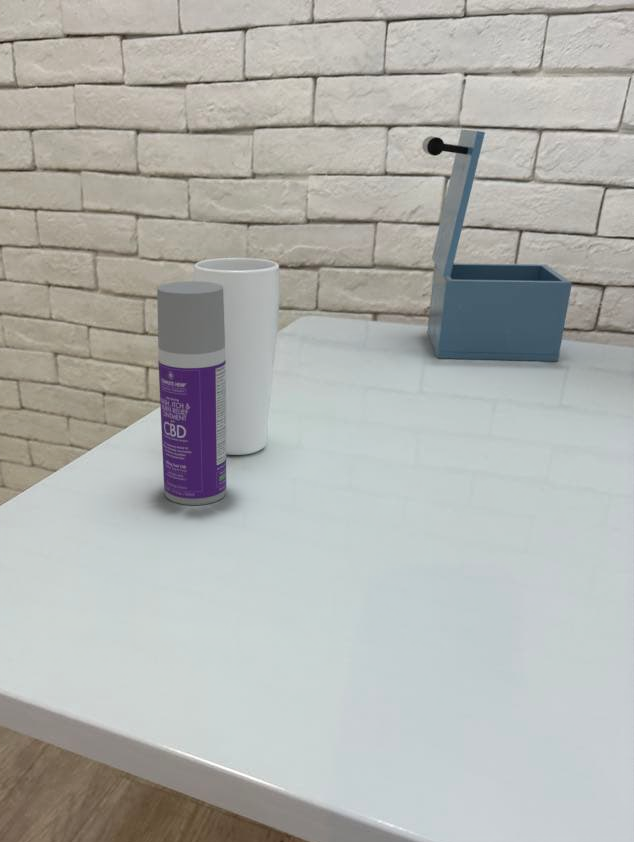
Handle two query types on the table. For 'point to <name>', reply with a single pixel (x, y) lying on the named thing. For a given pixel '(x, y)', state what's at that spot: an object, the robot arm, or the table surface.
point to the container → (192, 391)
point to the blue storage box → (498, 312)
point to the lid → (454, 193)
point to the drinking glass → (246, 344)
